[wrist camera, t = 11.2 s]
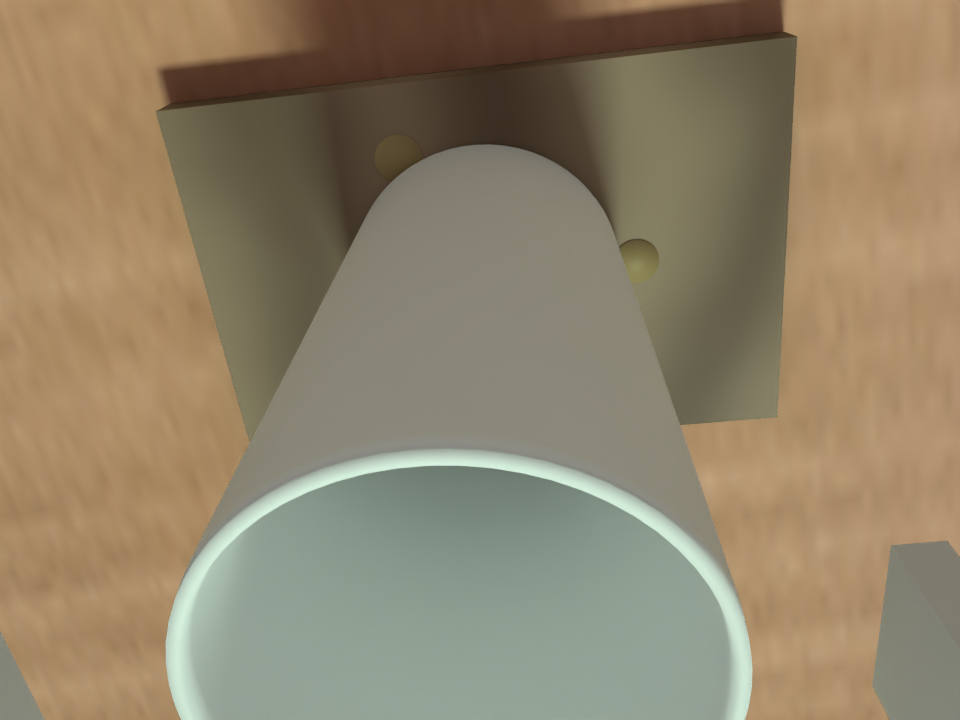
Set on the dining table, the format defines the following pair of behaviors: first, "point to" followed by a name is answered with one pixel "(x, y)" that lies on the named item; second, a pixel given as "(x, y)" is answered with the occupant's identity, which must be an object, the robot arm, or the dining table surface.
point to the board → (544, 131)
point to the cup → (467, 487)
